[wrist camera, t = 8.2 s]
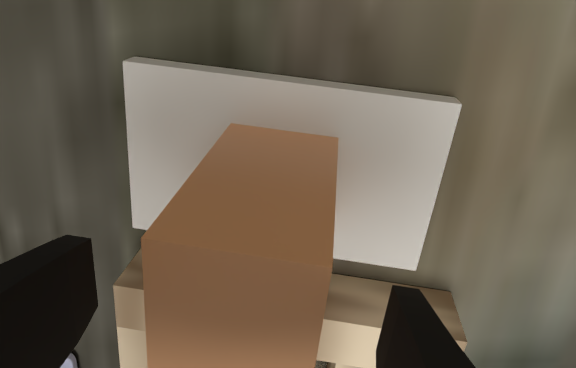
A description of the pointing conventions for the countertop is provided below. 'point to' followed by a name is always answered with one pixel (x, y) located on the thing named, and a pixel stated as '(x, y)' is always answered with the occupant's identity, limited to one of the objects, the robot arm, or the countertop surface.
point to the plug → (244, 255)
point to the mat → (305, 119)
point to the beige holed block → (335, 330)
